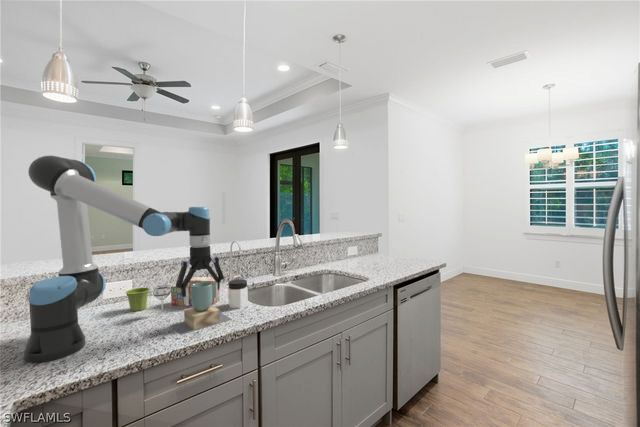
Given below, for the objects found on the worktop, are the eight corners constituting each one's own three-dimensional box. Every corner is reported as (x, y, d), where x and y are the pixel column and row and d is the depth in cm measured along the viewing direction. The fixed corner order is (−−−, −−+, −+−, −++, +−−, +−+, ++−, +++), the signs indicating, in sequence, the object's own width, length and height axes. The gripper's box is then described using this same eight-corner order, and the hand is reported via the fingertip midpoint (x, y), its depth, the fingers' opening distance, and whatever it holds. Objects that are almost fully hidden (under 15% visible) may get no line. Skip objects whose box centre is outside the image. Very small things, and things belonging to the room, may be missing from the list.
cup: (206, 304, 124) (205, 280, 124) (216, 308, 119) (215, 283, 119) (188, 310, 118) (187, 284, 118) (197, 314, 113) (196, 288, 113)
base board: (180, 337, 108) (180, 334, 107) (170, 327, 116) (170, 325, 116) (232, 321, 121) (232, 319, 121) (219, 313, 130) (219, 311, 130)
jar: (249, 308, 136) (249, 282, 136) (231, 311, 132) (231, 285, 132) (244, 302, 144) (244, 278, 144) (227, 305, 140) (226, 280, 140)
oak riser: (193, 329, 112) (193, 316, 111) (184, 322, 119) (184, 309, 119) (219, 322, 118) (219, 309, 118) (209, 315, 126) (208, 303, 126)
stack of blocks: (170, 305, 141) (170, 279, 141) (178, 301, 148) (177, 276, 147) (214, 306, 139) (213, 280, 139) (220, 302, 146) (219, 277, 145)
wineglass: (171, 310, 134) (171, 284, 134) (170, 315, 128) (169, 288, 128) (154, 312, 132) (153, 286, 131) (152, 318, 126) (151, 290, 125)
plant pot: (121, 311, 134) (120, 292, 133) (139, 304, 143) (138, 286, 142) (137, 313, 131) (136, 294, 131) (154, 306, 140) (154, 288, 140)
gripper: (171, 250, 107) (173, 311, 108) (232, 243, 123) (233, 296, 124) (165, 248, 112) (166, 305, 113) (223, 242, 128) (225, 292, 129)
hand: (201, 301), depth 118 cm, fingers open, 11 cm apart
